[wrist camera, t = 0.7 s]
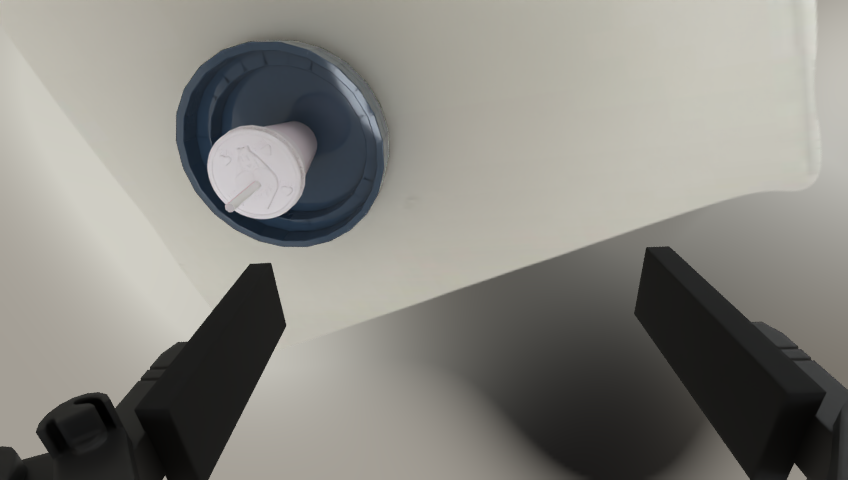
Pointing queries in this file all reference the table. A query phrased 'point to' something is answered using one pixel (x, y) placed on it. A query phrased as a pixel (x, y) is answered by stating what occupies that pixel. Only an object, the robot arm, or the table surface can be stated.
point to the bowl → (283, 102)
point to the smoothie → (261, 167)
